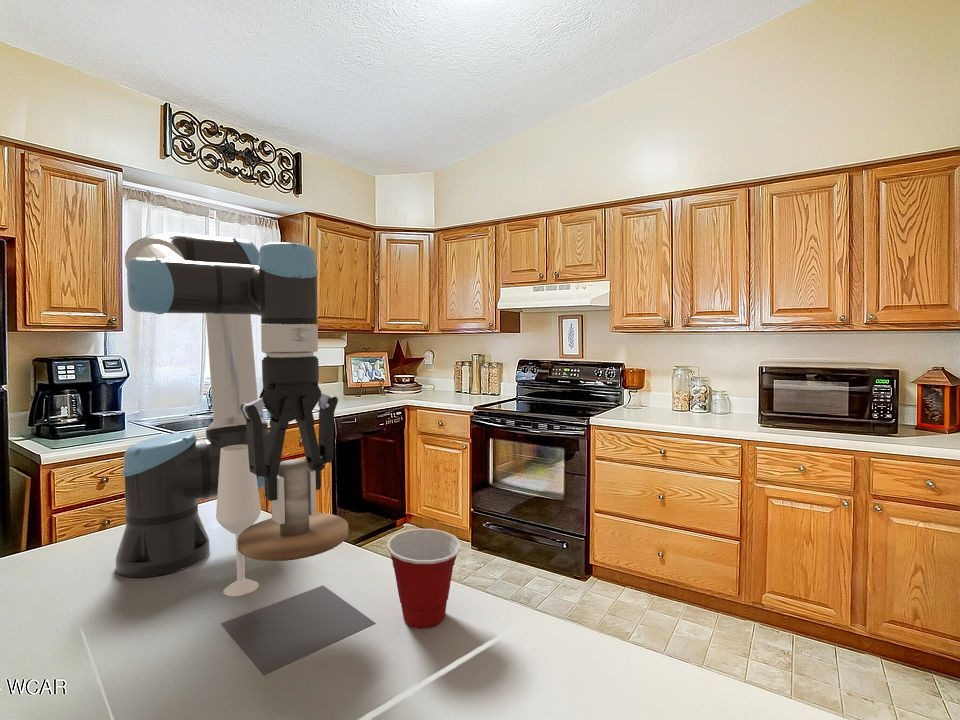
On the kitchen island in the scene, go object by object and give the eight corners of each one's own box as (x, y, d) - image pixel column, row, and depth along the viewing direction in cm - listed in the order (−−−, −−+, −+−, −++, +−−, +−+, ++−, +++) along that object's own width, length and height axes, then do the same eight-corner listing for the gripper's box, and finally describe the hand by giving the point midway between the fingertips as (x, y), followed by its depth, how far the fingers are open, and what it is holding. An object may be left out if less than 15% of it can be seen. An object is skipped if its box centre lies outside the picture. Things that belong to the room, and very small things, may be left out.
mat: (220, 626, 74) (220, 623, 74) (323, 588, 85) (323, 585, 85) (264, 678, 63) (264, 674, 63) (375, 626, 74) (375, 623, 74)
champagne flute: (263, 577, 89) (258, 442, 88) (263, 595, 83) (258, 449, 82) (220, 585, 87) (215, 445, 86) (217, 604, 80) (211, 453, 79)
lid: (222, 537, 74) (219, 462, 73) (319, 511, 84) (317, 446, 84) (262, 572, 63) (260, 485, 63) (368, 538, 74) (366, 462, 73)
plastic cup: (436, 651, 68) (435, 563, 67) (372, 630, 73) (371, 548, 72) (475, 612, 78) (474, 534, 77) (416, 595, 83) (415, 522, 82)
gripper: (237, 358, 64) (242, 541, 65) (357, 353, 76) (360, 509, 77) (217, 356, 69) (222, 525, 70) (332, 352, 81) (335, 497, 82)
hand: (294, 516), depth 74 cm, fingers closed on lid, 4 cm apart
